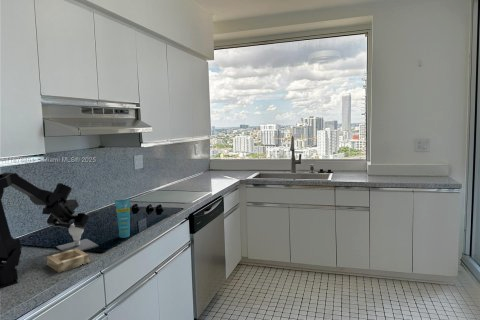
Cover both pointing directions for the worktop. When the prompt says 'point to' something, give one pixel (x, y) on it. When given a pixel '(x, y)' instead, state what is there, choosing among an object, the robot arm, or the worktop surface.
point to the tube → (123, 217)
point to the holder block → (67, 260)
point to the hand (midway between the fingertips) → (78, 227)
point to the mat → (83, 246)
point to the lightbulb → (75, 234)
